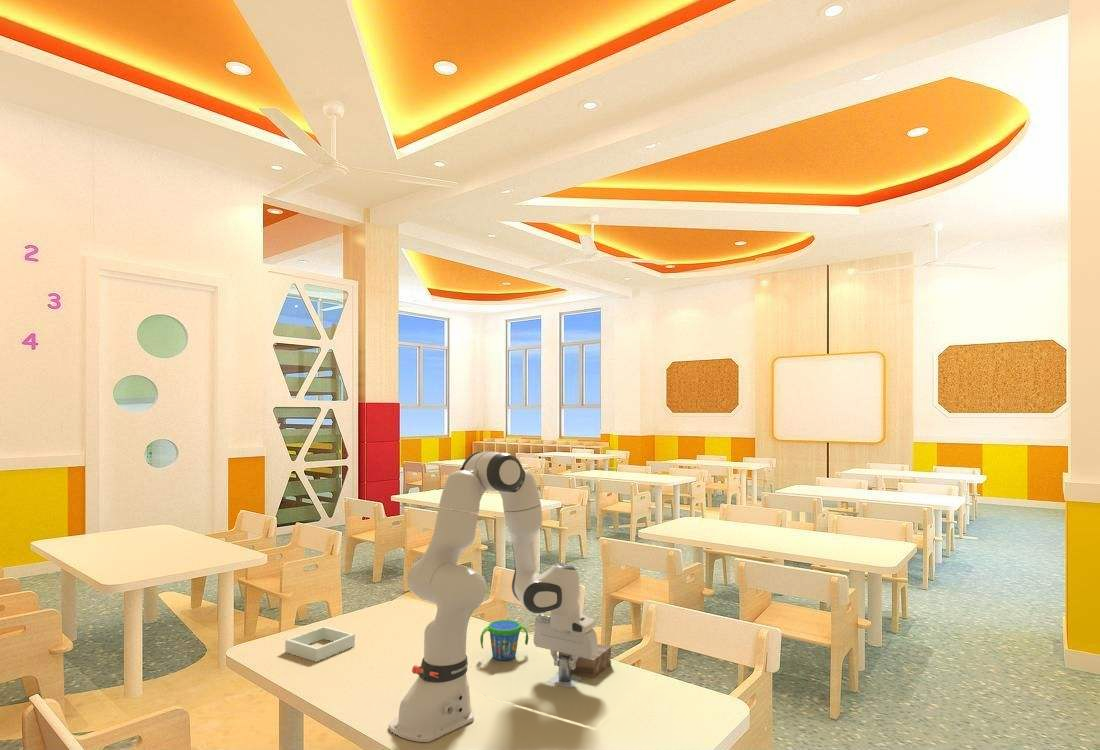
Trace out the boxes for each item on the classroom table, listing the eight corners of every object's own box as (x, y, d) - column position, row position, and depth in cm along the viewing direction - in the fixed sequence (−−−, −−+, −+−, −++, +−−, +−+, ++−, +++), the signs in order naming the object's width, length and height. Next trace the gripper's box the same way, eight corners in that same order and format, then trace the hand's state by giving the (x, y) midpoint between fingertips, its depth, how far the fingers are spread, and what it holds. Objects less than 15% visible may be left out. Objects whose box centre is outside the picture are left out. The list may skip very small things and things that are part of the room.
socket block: (593, 680, 185) (593, 660, 186) (558, 671, 192) (558, 651, 192) (610, 666, 196) (610, 647, 196) (577, 658, 202) (577, 639, 202)
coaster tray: (316, 662, 198) (316, 649, 198) (285, 652, 206) (285, 639, 206) (354, 646, 211) (354, 634, 212) (323, 637, 219) (324, 626, 220)
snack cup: (526, 649, 209) (526, 618, 210) (529, 662, 199) (530, 629, 200) (479, 651, 207) (480, 620, 208) (480, 664, 197) (480, 631, 197)
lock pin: (567, 683, 182) (567, 658, 183) (556, 680, 184) (556, 656, 184) (572, 678, 185) (573, 654, 186) (562, 676, 187) (562, 652, 188)
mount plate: (569, 690, 179) (569, 687, 179) (546, 683, 183) (546, 681, 183) (583, 679, 186) (583, 677, 186) (559, 673, 190) (559, 671, 190)
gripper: (529, 616, 188) (529, 663, 188) (590, 628, 178) (590, 678, 177) (540, 610, 194) (540, 656, 193) (600, 622, 183) (600, 670, 182)
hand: (564, 667), depth 185 cm, fingers closed on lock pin, 4 cm apart
